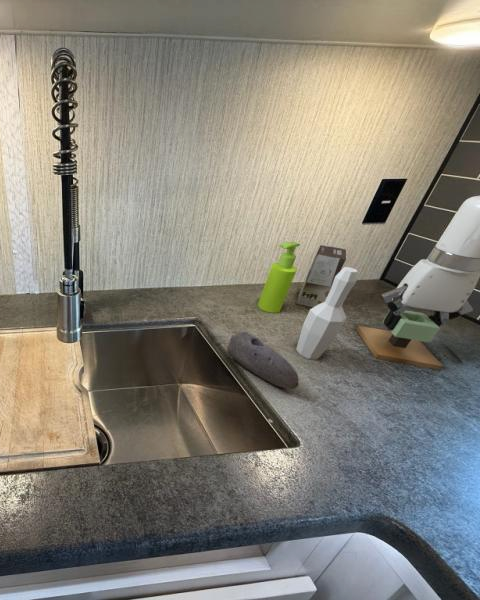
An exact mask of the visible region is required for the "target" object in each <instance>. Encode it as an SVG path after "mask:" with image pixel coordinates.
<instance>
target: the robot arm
mask: <svg viewBox="0 0 480 600" xmlns="http://www.w3.org/2000/svg"><path fill="white" fill-rule="evenodd" d="M479 279H480V195H475V196H471V197H468V198H467V199H465V200H464V201H463V202H462V204H461V205H460V207H459V208H458V210H457V212H456V213H455V214H454V216H453V218H452V219H451V221H450V222H449V224H448V225H447V227H446V229H445V230H444V231H443V233H442V235H441V236H440V238H439V240H438V241H437V242H436V244H435V246H433V249H432V250H431V252H430V254H429V255H428V256H427V258H426V259H425V258H422V259H420V260H419V261H417V263H416V264H414V266H412V267H411V269H410V270H408V272H407V273H406V275H405V276H404V277H403V278H402V280H401V281H400V283H399V284H398V285H397V287H396V288H394V289H391V290H389V291H387V292H384V293H382V294H381V295H380V296H381V298H382V300H383V301H384V303H385V305H386V306H387V309H389V310H388V312H389V313H388V312H387V313H386V315H387V316H386V315H385V317H384V318H385V319H384V318H383V320H384V323H383V325H384V326H385V327H386V328H387V329H388V331H390V330H393V329H394V328H395V326H396V325H397V323H398V322H399V320H400V319H401V318H402V317H401V316H400V314H402V313H403V312H405V311H408V310H409V309H410V308H414V309H421V310H426V311H427V310H428V311H433V315H432V314H430V315H429V316H428V317H429V318H430V319H431V320H432V321H433V322H434V323H435V324H436V325H437V326H439V327H440V328H441V326H442V325H443V324H446V323H448V322H449V321H450V320H453V319H456V318H459V317H460V316H463V315H465V314H468V313H471V312H473V311H474V308H473V307H472V305H471V304H470V302H469V301H468V299H469V297H470V296H471V295H472V293H473V291H474V289H475V288H476V286H477V284H478V282H479ZM396 298H397V300H395V301H394V299H396Z"/></svg>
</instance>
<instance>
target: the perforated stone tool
mask: <svg viewBox="0 0 480 600" xmlns="http://www.w3.org/2000/svg"><path fill="white" fill-rule="evenodd" d="M230 336H231V337H230V339H229V342H228V344H227V349H226V351H227V354H228V355H229V356H230V357H231V358H232V359H233V360H234V361H236V362H237V363H238V364H239V365H240V366H241V367H243V368H244V369H246V370H248V371H250V372H251V373H253V374H254V375H256V376H258V377H260V378H261V379H263V380H265V381H267V382H268V383H270V384H272V385H274V386H276V387H280V388H282V389H286V390H294V389H297V388H298V387H299V386H300V385H299V374H298V372H297V371H296V370H295V368H294V367H293V366H292V364H291V363H290V362H288V360H287V359H286V358H284V357H283V356H282V355H281V354H280V353H278V352H277V351H276V350H275V349H274V348H272V347H271V346H270V345H268V344H267V343H265V342H264V341H262V339H259V338H258V337H256V336H254V335H252V334H250V333H249V332H247V331H243V332H237V333H236V334H235V333H234V334H233V335H230Z"/></svg>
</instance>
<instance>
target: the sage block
mask: <svg viewBox="0 0 480 600" xmlns="http://www.w3.org/2000/svg"><path fill="white" fill-rule="evenodd" d="M388 313H389V311H388V312H387V314H388ZM387 314H386V315H385V317H386V316H387ZM400 316H401V317H402V318H401V319H400V320H399V322H398V323H397V325H396V326H395V328H394V329H393V330H389V331H391V332H392V333H393V335H394V336H395V337H400V338H406V339H412V340H418V341H420V342H422V343H424V342H425V343H431V342H432V340H434V338H435V337H436V335H437V334H438V333H439V331H440V330H441V326H440V327H439V326H437V325H436V324H435V323H434V322H433V321H432V320H431V319H430V318H429V316H428V315H427V314H425V312H418V311H414V310H413V311H411V310H406V311H405V312H403V313H402V314H400ZM385 317H384V318H383V320H382V323H383V324H384V319H385Z"/></svg>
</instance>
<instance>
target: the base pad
mask: <svg viewBox="0 0 480 600" xmlns="http://www.w3.org/2000/svg"><path fill="white" fill-rule="evenodd" d="M355 330H356V332H357V334H358V335H359V336H360V338H361V339H362V341H363V342H364V344H365V345H366V346H367V348H368V349H369V351H370V352H371V354H372V355H373V357H374V358H375V359H379V360H384V361H390V362H393V363H398V364H399V363H400V364H406V365H409V366H410V365H411V366H415V367H420V368H427V369H432V370H436V371H442V369H443V367H444V365H443V363H441V362H440V361H439V360H438V359H437V358H436V357H435V355H433V353H432V352H430V350H429V349H428V348H427V347H426V346H425V345H424V343H423V342H422V341H418V340H412V339H406V338H400V337H395V336H394V335H393V333H392V332H391V331H390V330H387V329H380V328H375V327H368V326H362V325H357V326H356V328H355Z"/></svg>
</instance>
